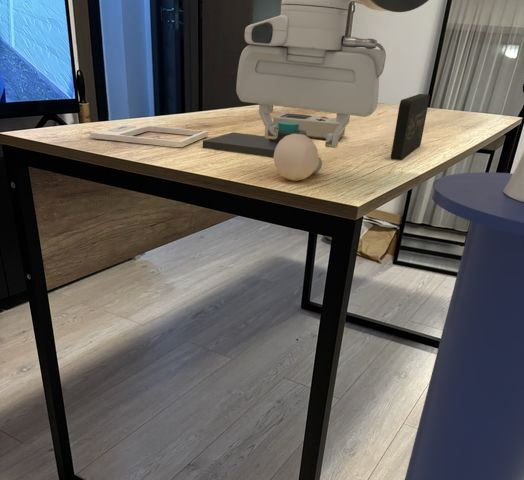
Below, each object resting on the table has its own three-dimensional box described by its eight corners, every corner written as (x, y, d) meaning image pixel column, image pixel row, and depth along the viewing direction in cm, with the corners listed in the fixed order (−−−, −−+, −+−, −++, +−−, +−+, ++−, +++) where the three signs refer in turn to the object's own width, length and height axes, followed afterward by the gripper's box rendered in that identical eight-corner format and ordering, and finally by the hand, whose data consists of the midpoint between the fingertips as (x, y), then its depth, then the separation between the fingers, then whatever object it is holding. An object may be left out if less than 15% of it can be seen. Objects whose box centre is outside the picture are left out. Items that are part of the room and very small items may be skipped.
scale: (309, 147, 105) (310, 130, 104) (283, 158, 93) (284, 140, 92) (235, 137, 110) (236, 121, 109) (202, 147, 98) (202, 130, 97)
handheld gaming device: (338, 141, 113) (341, 122, 111) (271, 134, 116) (273, 115, 114) (345, 136, 120) (347, 118, 118) (282, 130, 124) (283, 112, 122)
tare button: (301, 132, 103) (301, 123, 102) (294, 135, 100) (294, 125, 99) (281, 130, 104) (282, 120, 103) (274, 132, 101) (274, 122, 100)
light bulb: (306, 137, 85) (275, 122, 75) (342, 151, 82) (315, 138, 73) (290, 177, 87) (258, 168, 77) (325, 193, 85) (296, 185, 75)
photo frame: (125, 122, 111) (207, 130, 108) (125, 128, 112) (207, 136, 109) (89, 131, 99) (181, 140, 96) (90, 137, 100) (181, 147, 96)
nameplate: (411, 144, 115) (420, 93, 110) (420, 145, 114) (430, 94, 109) (390, 159, 98) (400, 100, 93) (400, 161, 98) (411, 101, 92)
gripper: (393, 40, 71) (374, 149, 78) (252, 29, 77) (247, 131, 84) (383, 39, 66) (364, 156, 73) (234, 27, 72) (229, 136, 79)
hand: (300, 142), depth 79 cm, fingers open, 8 cm apart
